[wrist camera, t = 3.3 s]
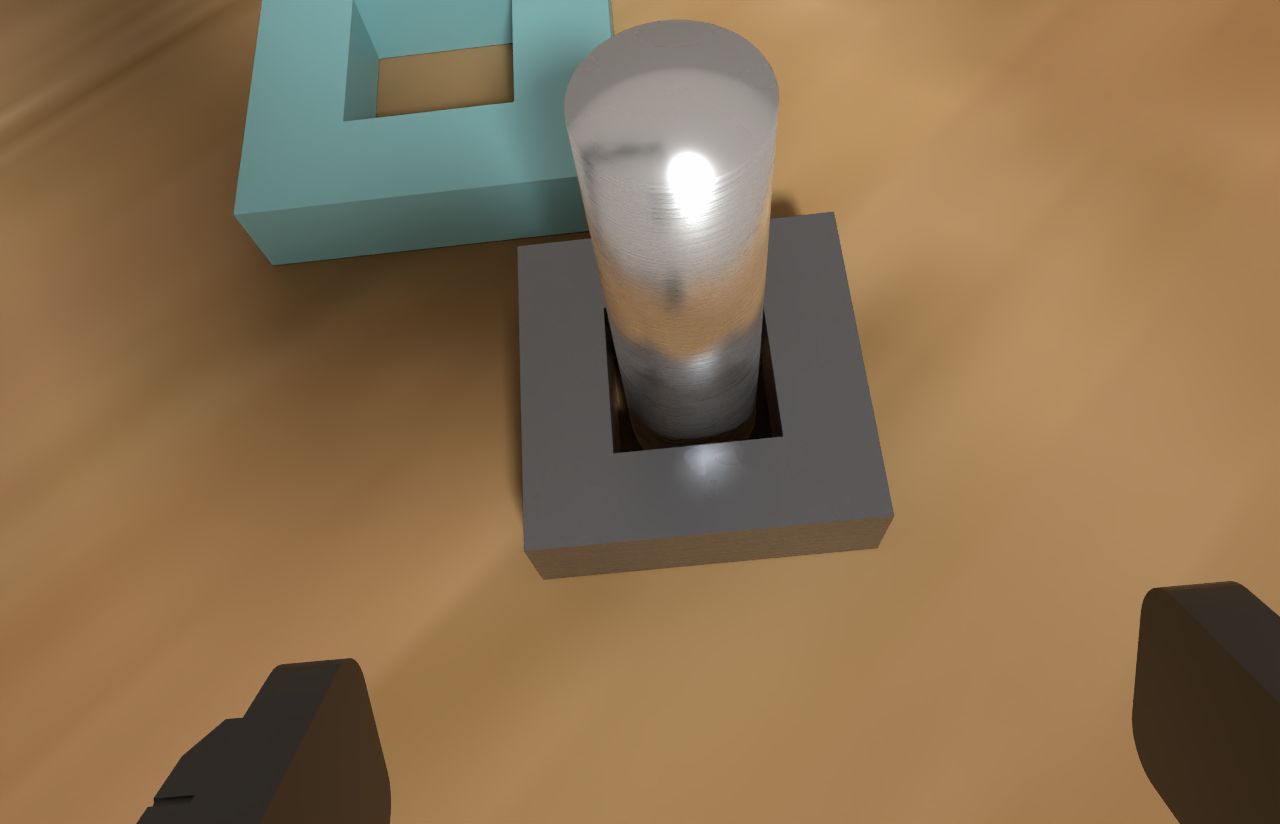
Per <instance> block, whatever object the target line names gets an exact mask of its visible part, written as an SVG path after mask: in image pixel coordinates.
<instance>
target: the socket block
mask: <svg viewBox="0 0 1280 824" xmlns="http://www.w3.org/2000/svg"><path fill="white" fill-rule="evenodd" d="M517 252H518V298H519V343H520V389H521V434H522V480H523V526H524V552H525V553H526V555H527V556H528V558H529V559H530V561H531V562H532V564H533V565H534V567H535V568H536V570H537V571H538V572H539V574H540V575H541V577H542V578H543V579H554V578H564V577H575V576H586V575H596V574H607V573H618V572H628V571H639V570H649V569H660V568H671V567H681V566H692V565H703V564H713V563H724V562H734V561H745V560H756V559H766V558H777V557H788V556H798V555H809V554H820V553H830V552H841V551H851V550H862V549H873V548H878V546H879V544H880V542H881V540H882V538H883V536H884V534H885V533H886V531H887V529H888V527H889V525H890V523H891V521H892V519H893V517H894V513H893V507H892V502H891V497H890V492H889V487H888V482H887V477H886V472H885V467H884V462H883V457H882V452H881V447H880V442H879V437H878V432H877V427H876V422H875V417H874V412H873V407H872V402H871V397H870V391H869V386H868V381H867V376H866V371H865V366H864V361H863V356H862V351H861V346H860V341H859V336H858V331H857V326H856V321H855V316H854V311H853V306H852V301H851V296H850V291H849V286H848V281H847V276H846V270H845V265H844V260H843V255H842V250H841V245H840V240H839V235H838V230H837V225H836V220H835V215H834V212H827V213H818V214H809V215H800V216H791V217H782V218H772V219H770V226H769V240H768V253H767V266H766V280H765V293H764V307H763V320H762V334H761V347H760V357H761V364H762V370H763V377H764V384H765V391H766V398H767V405H768V412H769V418H770V425H771V432H772V438H764V439H754V440H744V441H734V442H724V443H714V444H704V445H694V446H684V447H674V448H664V449H653V450H643V451H633V452H623V453H621V448H620V434H619V420H618V406H617V391H616V377H615V363H614V355H616V351H615V346H614V342H613V337H612V332H611V328H610V323H609V319H608V314H607V309H606V305H605V300H604V296H603V291H602V286H601V282H600V277H599V273H598V268H597V264H596V259H595V254H594V250H593V245H592V241H591V238H589V239H580V240H571V241H562V242H553V243H543V244H534V245H525V246H517Z"/></svg>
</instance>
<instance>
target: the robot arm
mask: <svg viewBox="0 0 1280 824" xmlns="http://www.w3.org/2000/svg"><path fill="white" fill-rule="evenodd" d="M1132 727H1133V735H1134V740H1135V745H1136V748H1137V752H1138V755H1139V758H1140V761H1141V764H1142V766H1143V768H1144V771H1145V773H1146V775H1147V776H1148V778H1149V780H1150V782H1151V783H1152V785H1153V786H1154V788H1155V789H1156V791H1157V792H1158V793H1159V795H1160V796H1161V798H1162V799H1163V800H1164V802H1165V803H1166V805H1167V806H1168V807H1169V809H1170V810H1171V812H1172V813H1173V815H1174V816H1175V817H1176V819H1177V820H1178V822H1179V823H1180V824H1280V617H1279V616H1278V615H1277V614H1276V613H1275V612H1273V611H1272V610H1271V609H1270V608H1269V607H1268V606H1266V605H1265V604H1264V603H1263V602H1262V601H1261V600H1260V599H1258V598H1257V597H1256V596H1255V595H1254V594H1253V593H1251V592H1250V591H1249V590H1248V589H1247V588H1245V587H1244V586H1243V585H1241V584H1239V583H1237V582H1233V581H1226V582H1215V583H1204V584H1193V585H1182V586H1171V587H1160V588H1153V589H1151V590H1150V591H1149V592H1148V593H1147V594H1146V596H1145V598H1144V600H1143V604H1142V609H1141V617H1140V629H1139V641H1138V652H1137V664H1136V676H1135V687H1134V699H1133V710H1132ZM390 815H391V792H390V782H389V777H388V772H387V768H386V764H385V760H384V756H383V752H382V748H381V744H380V740H379V736H378V732H377V728H376V724H375V720H374V716H373V712H372V707H371V703H370V699H369V695H368V691H367V687H366V683H365V679H364V676H363V673H362V670H361V668H360V666H359V664H358V663H357V662H356V661H355V660H354V659H352V658H347V659H336V660H325V661H314V662H303V663H292V664H281V665H279V666H277V667H276V668H275V669H273V671H272V672H271V673H270V675H269V677H268V678H267V680H266V681H265V683H264V685H263V686H262V688H261V689H260V691H259V693H258V694H257V696H256V697H255V699H254V701H253V702H252V704H251V706H250V707H249V709H248V710H247V712H246V714H245V715H244V717H243V718H235V719H226V720H224V721H223V722H222V723H221V724H220V725H219V726H217V727H216V728H215V729H214V730H213V731H211V732H210V733H209V734H208V735H207V736H206V737H204V738H203V739H202V740H201V741H200V742H198V743H197V744H196V745H195V746H194V747H192V748H191V749H190V750H189V751H188V752H187V753H185V754H184V755H183V756H182V757H181V759H180V760H179V762H178V763H177V764H176V766H175V767H174V769H173V770H172V772H171V773H170V775H169V776H168V778H167V779H166V781H165V782H164V784H163V785H162V787H161V788H160V790H159V791H158V793H157V794H156V796H155V797H154V805H153V807H147V809H146V810H145V812H144V813H143V815H142V816H141V818H140V819H139V821H138V822H137V824H390Z"/></svg>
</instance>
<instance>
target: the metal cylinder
mask: <svg viewBox="0 0 1280 824" xmlns="http://www.w3.org/2000/svg"><path fill="white" fill-rule="evenodd" d="M778 105H779V91H778V84H777V80H776V77H775V74H774V72H773V70H772V68H771V66H770V64H769V63H768V61H767V60H766V58H765V57H764V56H763V54H762V53H761V52H760V51H759V50H758V49H757V48H756V47H755V46H754V45H752V44H751V43H750V42H749V41H747V40H746V39H744V38H743V37H741V36H740V35H738V34H736V33H734V32H732V31H730V30H728V29H725V28H722V27H719V26H717V25H713V24H709V23H705V22H699V21H691V20H665V21H657V22H651V23H646V24H643V25H639V26H635V27H633V28H630V29H627V30H625V31H622V32H620V33H618V34H616V35H614V36H612V37H611V38H609V39H607V40H606V41H604V42H603V43H601V44H600V45H599V46H597V47H596V48H595V49H594V50H592V51H591V52H590V53H589V54H588V55H587V56H586V57H585V58H584V59H583V61H582V62H581V63H580V65H579V66H578V67H577V69H576V70H575V72H574V74H573V76H572V77H571V79H570V82H569V85H568V87H567V90H566V95H565V100H564V114H565V121H566V126H567V131H568V135H569V140H570V144H571V149H572V154H573V158H574V163H575V167H576V172H577V176H578V181H579V186H580V190H581V195H582V199H583V204H584V209H585V213H586V218H587V222H588V227H589V231H590V236H591V241H592V245H593V250H594V254H595V259H596V264H597V268H598V273H599V277H600V282H601V286H602V291H603V296H604V300H605V305H606V309H607V314H608V319H609V323H610V328H611V332H612V337H613V342H614V346H615V351H616V355H617V360H618V364H619V369H620V374H621V378H622V383H623V387H624V392H625V397H626V401H627V406H628V410H629V415H630V419H631V424H632V428H633V431H634V434H635V436H636V439H637V441H638V442H639V444H640V445H641V447H642V448H643V449H644V450H653V449H664V448H674V447H684V446H694V445H704V444H714V443H724V442H734V441H744V440H748V439H749V438H750V436H751V433H752V431H753V428H754V423H755V414H756V401H757V387H758V374H759V360H760V347H761V334H762V320H763V307H764V293H765V280H766V266H767V253H768V240H769V226H770V213H771V199H772V186H773V172H774V159H775V146H776V132H777V119H778Z"/></svg>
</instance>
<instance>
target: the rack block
mask: <svg viewBox="0 0 1280 824" xmlns="http://www.w3.org/2000/svg"><path fill="white" fill-rule="evenodd" d="M612 36H614V29H613V17H612V5H611V0H262V7H261V14H260V22H259V29H258V37H257V44H256V51H255V59H254V66H253V74H252V81H251V88H250V96H249V103H248V110H247V118H246V125H245V133H244V140H243V147H242V155H241V162H240V170H239V177H238V184H237V192H236V199H235V207H234V214H233V215H234V216H235V218H236V219H237V220H238V221H239V223H240V224H241V225H242V227H243V228H244V229H245V231H246V232H247V233H248V234H249V236H250V237H251V238H252V240H253V241H254V242H255V243H256V245H257V246H258V247H259V249H260V250H261V251H262V252H263V254H264V255H265V256H266V258H267V259H268V260H269V261H270V263H271V264H272V265H281V264H290V263H299V262H308V261H317V260H327V259H336V258H345V257H354V256H363V255H372V254H381V253H390V252H400V251H409V250H418V249H427V248H436V247H445V246H454V245H464V244H473V243H482V242H491V241H500V240H509V239H518V238H527V237H537V236H546V235H555V234H564V233H573V232H582V231H589V227H588V222H587V218H586V213H585V209H584V204H583V199H582V195H581V190H580V186H579V181H578V176H577V172H576V167H575V163H574V158H573V154H572V149H571V144H570V140H569V135H568V131H567V126H566V121H565V114H564V100H565V95H566V90H567V87H568V85H569V82H570V79H571V77H572V76H573V74H574V72H575V70H576V69H577V67H578V66H579V65H580V63H581V62H582V61H583V59H584V58H585V57H586V56H587V55H588V54H589V53H590V52H591V51H592V50H594V49H595V48H596V47H597V46H599V45H600V44H601V43H603V42H604V41H606V40H607V39H609V38H611V37H612ZM508 43H513V70H514V102H509V103H500V104H491V105H483V106H474V107H466V108H457V109H448V110H440V111H431V112H422V113H414V114H405V115H396V116H388V117H379V118H376V108H377V91H378V74H379V59H381V58H389V57H398V56H406V55H415V54H423V53H432V52H440V51H448V50H457V49H465V48H474V47H482V46H491V45H499V44H508Z"/></svg>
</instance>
